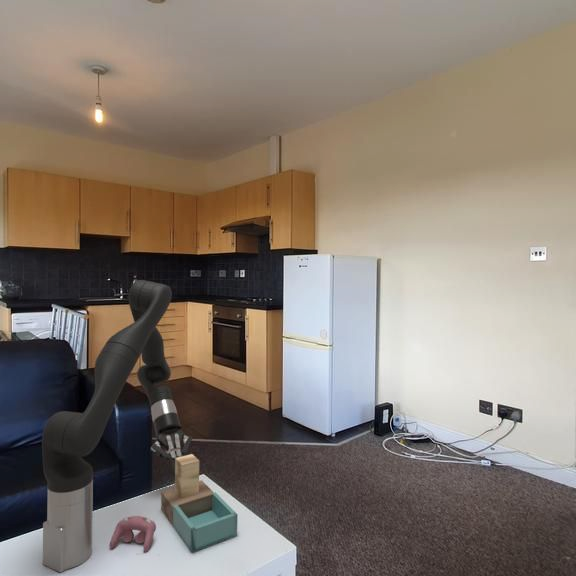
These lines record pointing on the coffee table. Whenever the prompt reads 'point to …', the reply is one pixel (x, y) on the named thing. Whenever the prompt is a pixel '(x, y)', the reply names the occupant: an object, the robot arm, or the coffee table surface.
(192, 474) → the maple block
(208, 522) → the bin
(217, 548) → the coffee table surface
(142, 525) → the pink arched piece
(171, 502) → the brown wooden block
